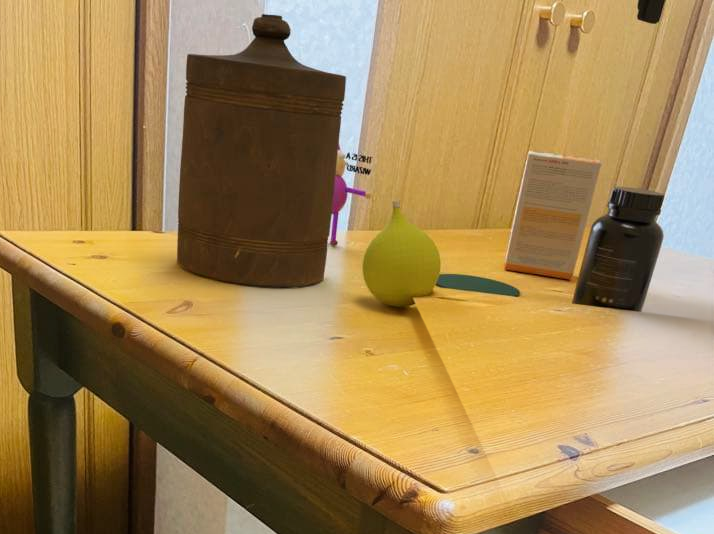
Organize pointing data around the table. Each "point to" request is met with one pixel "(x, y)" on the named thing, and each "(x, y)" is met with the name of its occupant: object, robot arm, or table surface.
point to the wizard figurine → (345, 188)
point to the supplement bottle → (621, 252)
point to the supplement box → (551, 214)
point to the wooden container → (258, 163)
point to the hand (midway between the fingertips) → (698, 26)
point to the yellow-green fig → (401, 262)
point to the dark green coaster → (476, 284)
